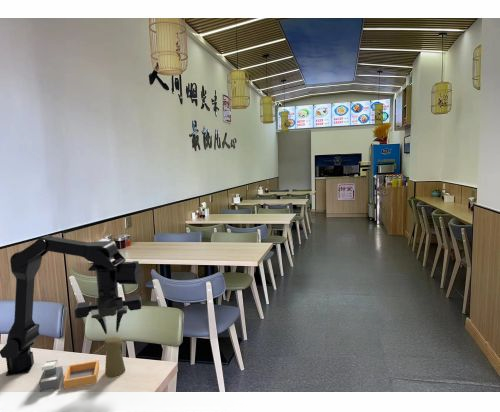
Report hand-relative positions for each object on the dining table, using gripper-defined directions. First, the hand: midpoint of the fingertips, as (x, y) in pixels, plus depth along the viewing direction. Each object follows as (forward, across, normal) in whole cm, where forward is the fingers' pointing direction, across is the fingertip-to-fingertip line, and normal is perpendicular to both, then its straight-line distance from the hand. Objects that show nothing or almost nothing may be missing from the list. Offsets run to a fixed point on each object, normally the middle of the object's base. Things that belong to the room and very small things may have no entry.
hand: (111, 332), depth 118 cm
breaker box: (+13, -18, 0) cm, 22 cm away
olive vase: (+13, 0, 0) cm, 13 cm away
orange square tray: (+13, -10, 0) cm, 16 cm away
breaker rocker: (+8, -18, 0) cm, 20 cm away
